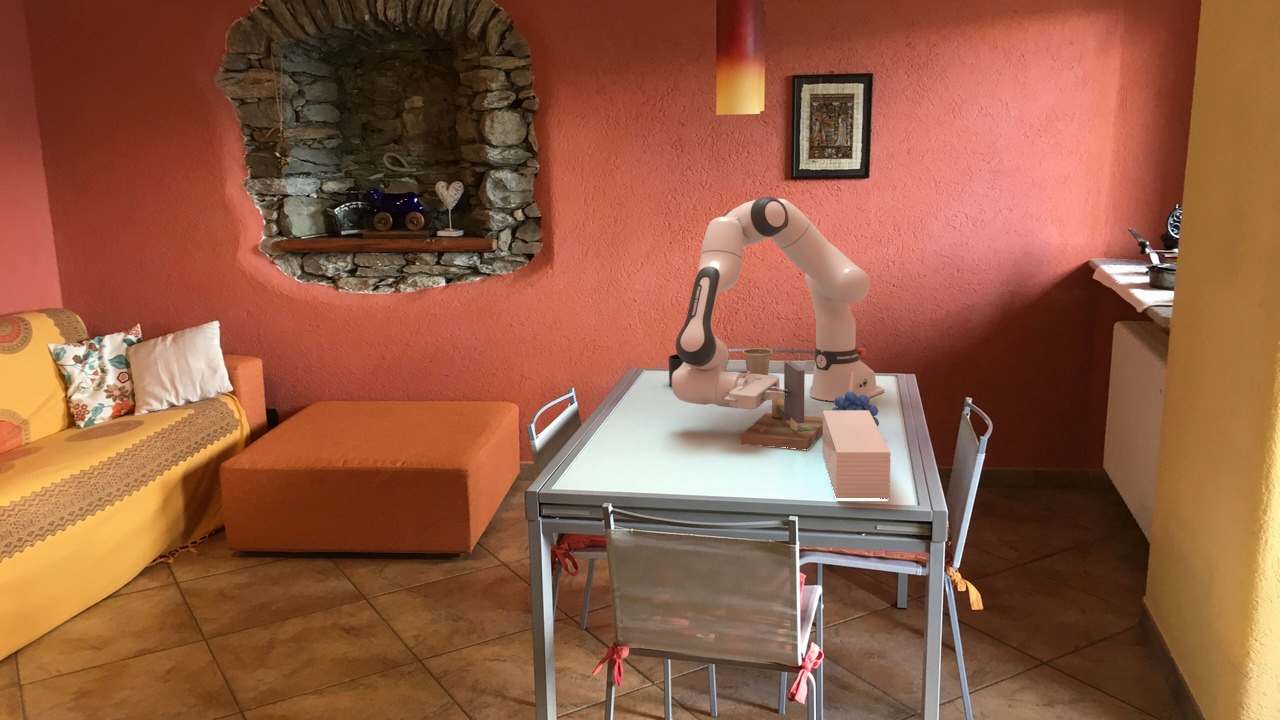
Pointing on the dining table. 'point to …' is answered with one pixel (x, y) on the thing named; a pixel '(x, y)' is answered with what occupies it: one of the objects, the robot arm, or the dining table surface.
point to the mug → (674, 365)
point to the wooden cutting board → (783, 432)
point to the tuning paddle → (791, 396)
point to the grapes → (856, 404)
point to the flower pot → (757, 360)
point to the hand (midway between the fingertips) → (786, 394)
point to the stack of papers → (855, 454)
